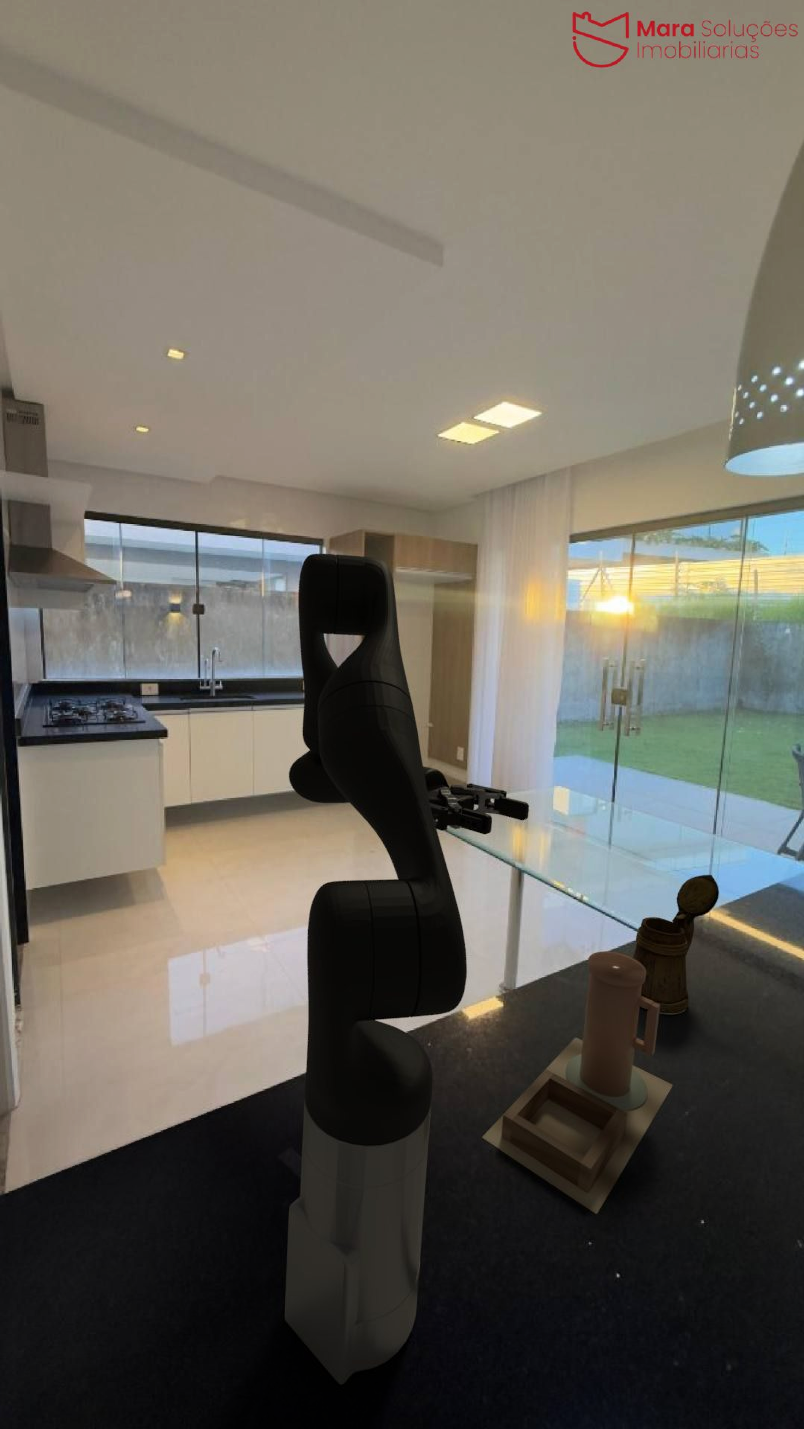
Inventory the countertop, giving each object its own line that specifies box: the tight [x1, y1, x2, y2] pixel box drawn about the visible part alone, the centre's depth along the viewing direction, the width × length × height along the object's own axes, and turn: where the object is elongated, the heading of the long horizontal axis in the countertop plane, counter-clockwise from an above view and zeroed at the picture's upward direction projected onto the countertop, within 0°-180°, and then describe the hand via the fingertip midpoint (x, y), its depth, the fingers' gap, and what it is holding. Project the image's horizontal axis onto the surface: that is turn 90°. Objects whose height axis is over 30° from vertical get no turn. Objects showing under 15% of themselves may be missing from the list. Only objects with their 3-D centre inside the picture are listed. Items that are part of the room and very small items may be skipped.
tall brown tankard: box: [580, 950, 660, 1097], centre depth 69 cm, size 6×8×14 cm
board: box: [481, 1037, 674, 1215], centre depth 66 cm, size 22×12×4 cm, turn 140°
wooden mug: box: [632, 874, 720, 1013], centre depth 90 cm, size 9×14×18 cm, turn 114°
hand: (509, 818), depth 72 cm, fingers open, 8 cm apart
